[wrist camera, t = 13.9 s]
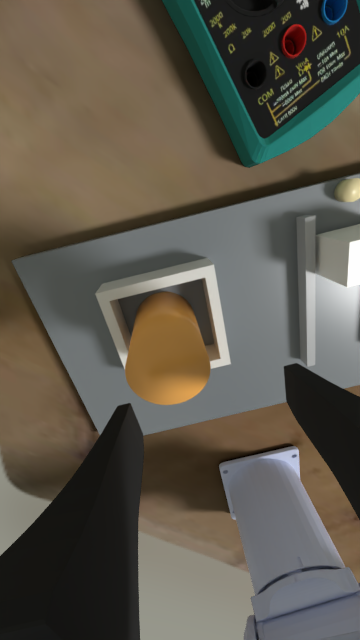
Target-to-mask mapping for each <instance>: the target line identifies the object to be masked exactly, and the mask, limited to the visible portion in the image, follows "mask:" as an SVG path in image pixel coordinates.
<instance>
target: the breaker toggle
mask: <svg viewBox="0 0 360 640" xmlns="http://www.w3.org/2000/svg"><path fill="white" fill-rule="evenodd" d="M315 274H318V275H320V276H322V277H325V278H327V279H329V280H331V281H334V282H336V283H338V284H341V285H343V286H345V287H351V286H355V285H359V284H360V224H358V225H354V226H349V227H345V228H341V229H337V230H333V231H329V232H325V233H321V234H317V235H315Z"/></svg>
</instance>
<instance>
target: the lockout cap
mask: <svg viewBox="0 0 360 640" xmlns="http://www.w3.org/2000/svg"><path fill="white" fill-rule="evenodd" d="M210 370H211V366H210V360H209V357H208V354H207V351H206V348H205V345H204V342H203V339H202V336H201V333H200V329H199V326H198V323H197V320H196V317H195V314H194V311H193V309H192V307H191V305H190V303H189V302H188V301H187V300H186V299H185V298H183V297H182V296H180V295H178V294H176V293H172V292H159V293H155V294H152V295H150V296H149V297H147V298H146V299H145V300H144V301H143V302H142V303H141V304H140V306H139V308H138V310H137V313H136V317H135V322H134V327H133V332H132V336H131V341H130V346H129V351H128V355H127V360H126V365H125V376H126V380H127V382H128V384H129V386H130V388H131V389H132V390H133V392H134V393H136V394H137V395H138V396H139V397H141V398H142V399H144V400H146V401H148V402H151V403H154V404H160V405H173V404H178V403H182V402H185V401H187V400H189V399H191V398H193V397H194V396H196V395H197V394H198V393H199V392H200V391H201V390H202V389H203V388H204V386H205V385H206V383H207V381H208V379H209V376H210Z"/></svg>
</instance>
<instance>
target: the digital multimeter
mask: <svg viewBox="0 0 360 640" xmlns="http://www.w3.org/2000/svg"><path fill="white" fill-rule="evenodd" d="M162 2H163V4H164V5H165V7H166V9H167V11H168V13H169V15H170V17H171V19H172V20H173V22H174V24H175V26H176V28H177V30H178V32H179V34H180V35H181V37H182V39H183V41H184V43H185V45H186V47H187V49H188V51H189V53H190V55H191V57H192V59H193V61H194V63H195V65H196V67H197V69H198V71H199V73H200V75H201V78H202V80H203V82H204V84H205V86H206V88H207V90H208V92H209V94H210V96H211V98H212V100H213V102H214V104H215V106H216V108H217V110H218V112H219V114H220V117H221V119H222V121H223V123H224V125H225V127H226V130H227V132H228V134H229V136H230V138H231V141H232V143H233V145H234V147H235V149H236V151H237V154H238V156H239V158H240V160H241V162H242V164H243V165H244V166H245V167H249V168H250V167H252V166H255V165H258V164H260V163H262V162H265V161H267V160H269V159H271V158H274V157H276V156H278V155H280V154H282V153H284V152H287V151H289V150H290V149H292V148H294V147H296V146H298V145H299V144H301V143H303V142H305V141H306V140H308V139H310V138H311V137H313V136H314V135H315V134H317V133H318V132H319V131H320V130H322V129H323V128H324V127H326V126H327V125H328V124H329V123H331V122H332V121H333V120H334V119H335V118H336V117H337V116H338V115H339V114H340V113H341V112H342V111H343V110H344V109H345V108H346V107H347V106H348V105H349V104H350V103H351V102H352V101H353V100H354V99H355V98H356V97H357V95H358V94H359V93H360V0H195V1H194V0H162ZM196 5H197V6H196ZM279 5H280V6H279ZM197 7H198V8H197ZM198 9H199V10H198ZM199 11H200V12H199ZM271 11H272V12H271ZM269 12H270V13H269ZM200 13H201V14H200ZM201 15H202V16H201ZM202 17H203V18H202ZM203 19H204V20H203ZM204 21H205V22H204ZM205 23H206V24H205ZM207 28H208V29H207ZM208 30H209V31H208ZM209 32H210V33H209ZM210 34H211V35H210ZM211 36H212V37H211ZM212 38H213V39H212ZM213 40H214V41H213ZM214 42H215V43H214ZM215 44H216V45H215ZM216 46H217V47H216ZM217 49H218V50H217ZM218 51H219V52H218ZM219 53H220V54H219ZM220 55H221V56H220ZM221 57H222V58H221ZM222 59H223V60H222ZM223 61H224V62H223ZM224 63H225V64H224ZM225 65H226V66H225ZM226 67H227V68H226ZM228 72H229V73H228ZM229 74H230V75H229ZM230 76H231V77H230ZM231 78H232V79H231ZM232 80H233V81H232ZM233 82H234V83H233ZM234 84H235V85H234ZM334 84H335V85H334ZM235 86H236V87H235ZM329 88H330V89H329ZM324 92H325V93H324ZM319 96H320V97H319ZM241 99H242V100H241ZM242 101H243V102H242ZM243 103H244V104H243ZM244 105H245V106H244ZM245 107H246V108H245ZM246 109H247V110H246ZM247 111H248V112H247ZM252 122H253V123H252ZM253 124H254V125H253ZM254 126H255V127H254ZM255 128H256V129H255ZM256 130H257V131H256ZM257 132H258V133H257Z"/></svg>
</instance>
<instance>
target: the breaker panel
mask: <svg viewBox="0 0 360 640" xmlns="http://www.w3.org/2000/svg"><path fill="white" fill-rule="evenodd" d="M358 224H360V173H356V174H352V175H348V176H344V177H340V178H336V179H332V180H328V181H324V182H320V183H316V184H312V185H308V186H304V187H300V188H296V189H292V190H288V191H284V192H280V193H276V194H272V195H268V196H264V197H260V198H256V199H252V200H248V201H244V202H240V203H236V204H232V205H227V206H223V207H219V208H215V209H211V210H207V211H203V212H199V213H195V214H191V215H187V216H183V217H179V218H175V219H171V220H167V221H163V222H159V223H155V224H151V225H147V226H143V227H139V228H135V229H131V230H127V231H123V232H119V233H115V234H111V235H107V236H103V237H99V238H95V239H91V240H87V241H83V242H79V243H75V244H71V245H67V246H63V247H59V248H55V249H51V250H47V251H43V252H39V253H35V254H31V255H27V256H23V257H20V258H17V259H14V260H12V263H13V265H14V267H15V269H16V271H17V273H18V275H19V277H20V279H21V281H22V283H23V285H24V287H25V289H26V291H27V293H28V295H29V297H30V299H31V301H32V303H33V304H34V306H35V308H36V310H37V312H38V314H39V316H40V318H41V320H42V322H43V324H44V326H45V328H46V330H47V332H48V334H49V336H50V338H51V340H52V342H53V344H54V346H55V348H56V350H57V352H58V354H59V356H60V358H61V360H62V362H63V364H64V365H65V367H66V369H67V371H68V373H69V375H70V377H71V379H72V381H73V383H74V385H75V387H76V389H77V391H78V393H79V395H80V397H81V399H82V401H83V403H84V405H85V407H86V409H87V411H88V413H89V415H90V417H91V419H92V421H93V423H94V425H95V426H96V428H97V430H98V432H99V434H100V435H101V433H102V432H103V430H104V428H105V426H106V425H107V423H108V421H109V420H110V418H111V416H112V414H113V413H114V411H115V409H116V408H117V406H119V405H123V404H127V403H131V405H132V408H133V410H134V413H135V415H136V418H137V420H138V423H139V425H140V427H141V430H142V432H143V435H148V434H152V433H156V432H160V431H165V430H169V429H173V428H177V427H182V426H186V425H190V424H194V423H199V422H203V421H207V420H211V419H216V418H220V417H224V416H228V415H233V414H237V413H241V412H245V411H250V410H254V409H258V408H262V407H267V406H271V405H275V404H280V403H284V402H287V401H286V392H285V378H284V366H286V365H290V364H294V363H298V364H300V365H301V366H303V367H305V368H307V369H308V370H310V371H312V372H314V373H315V374H317V375H319V376H321V377H322V378H324V379H326V380H328V381H330V382H331V383H333V384H335V385H337V386H339V387H341V388H348V387H352V386H356V385H360V284H359V285H355V286H351V287H345V286H343V285H341V284H338V283H336V282H334V281H331V280H329V279H327V278H325V277H322V276H320V275H318V274H315V235H317V234H321V233H325V232H329V231H333V230H337V229H341V228H345V227H349V226H354V225H358ZM159 292H172V293H176V294H178V295H180V296H182V297H183V298H185V299H186V300H187V301H188V302H189V303H190V305H191V307H192V309H193V311H194V314H195V317H196V320H197V323H198V326H199V329H200V333H201V336H202V339H203V342H204V345H205V348H206V351H207V354H208V357H209V360H210V366H211V370H210V376H209V379H208V381H207V383H206V385H205V386H204V388H203V389H202V390H201V391H200V392H199V393H198V394H197V395H196V396H194V397H193V398H191V399H189V400H187V401H185V402H182V403H178V404H173V405H160V404H154V403H151V402H148V401H146V400H144V399H142V398H141V397H139V396H138V395H137V394H136V393H134V392H133V390H132V389H131V388H130V386H129V384H128V382H127V380H126V376H125V365H126V360H127V355H128V351H129V346H130V341H131V336H132V332H133V327H134V322H135V317H136V313H137V310H138V308H139V306H140V304H141V303H142V302H143V301H144V300H145V299H146V298H147V297H149V296H150V295H152V294H155V293H159Z"/></svg>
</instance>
